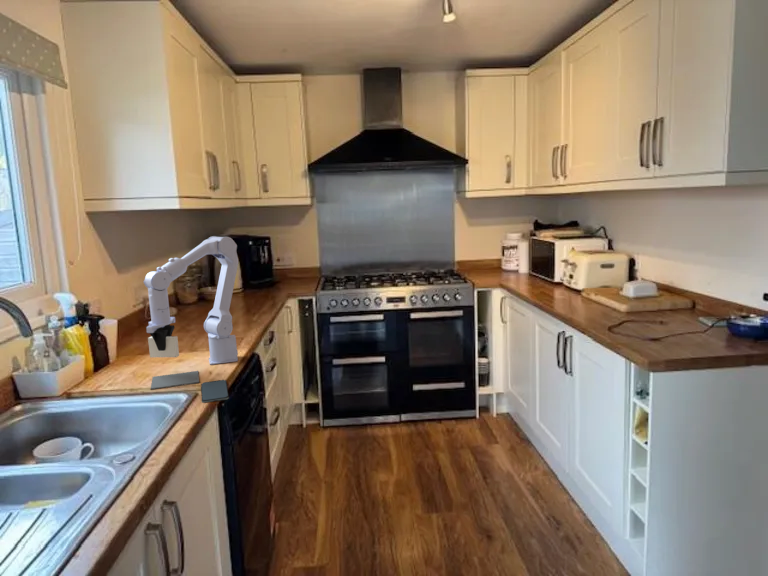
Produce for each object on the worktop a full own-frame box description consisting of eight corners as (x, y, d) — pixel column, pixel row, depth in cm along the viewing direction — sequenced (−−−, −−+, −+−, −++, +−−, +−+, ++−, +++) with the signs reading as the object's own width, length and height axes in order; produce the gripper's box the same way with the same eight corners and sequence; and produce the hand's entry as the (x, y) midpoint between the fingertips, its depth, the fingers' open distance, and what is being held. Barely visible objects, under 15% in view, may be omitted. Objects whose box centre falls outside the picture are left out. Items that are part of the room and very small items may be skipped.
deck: (153, 355, 177) (151, 336, 176) (179, 355, 176) (177, 336, 175) (149, 357, 175) (147, 337, 173) (176, 357, 174) (174, 337, 172)
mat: (198, 371, 179) (198, 370, 179) (199, 382, 167) (199, 381, 167) (152, 377, 174) (152, 376, 174) (150, 389, 163) (150, 388, 163)
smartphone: (201, 400, 150) (200, 382, 164) (201, 406, 151) (201, 387, 165) (229, 396, 153) (226, 378, 167) (229, 402, 153) (226, 384, 167)
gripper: (159, 304, 180) (163, 343, 182) (135, 313, 166) (140, 355, 168) (179, 303, 179) (183, 343, 181) (156, 313, 165) (161, 355, 167)
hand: (163, 349), depth 175 cm, fingers closed on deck, 2 cm apart
